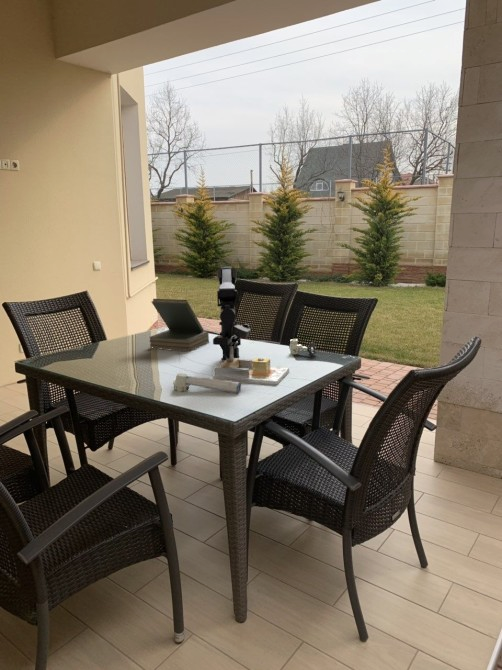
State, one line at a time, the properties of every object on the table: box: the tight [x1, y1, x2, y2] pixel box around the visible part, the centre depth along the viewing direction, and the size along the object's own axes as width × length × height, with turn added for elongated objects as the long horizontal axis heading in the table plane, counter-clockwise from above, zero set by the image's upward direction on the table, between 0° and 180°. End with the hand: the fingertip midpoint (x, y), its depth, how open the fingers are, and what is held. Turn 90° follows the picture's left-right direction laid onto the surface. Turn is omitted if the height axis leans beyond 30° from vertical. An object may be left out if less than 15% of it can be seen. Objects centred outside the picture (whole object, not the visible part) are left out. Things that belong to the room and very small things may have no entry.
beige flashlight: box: [172, 372, 242, 394], centre depth 177 cm, size 5×7×25 cm
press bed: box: [212, 358, 290, 386], centre depth 194 cm, size 26×18×4 cm
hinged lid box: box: [149, 298, 210, 353], centre depth 245 cm, size 23×20×25 cm
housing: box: [252, 357, 271, 375], centre depth 192 cm, size 6×5×5 cm
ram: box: [220, 346, 240, 368], centre depth 196 cm, size 4×10×10 cm, turn 160°
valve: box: [289, 338, 317, 357], centre depth 223 cm, size 7×7×12 cm
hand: (229, 357), depth 196 cm, fingers closed on ram, 3 cm apart
